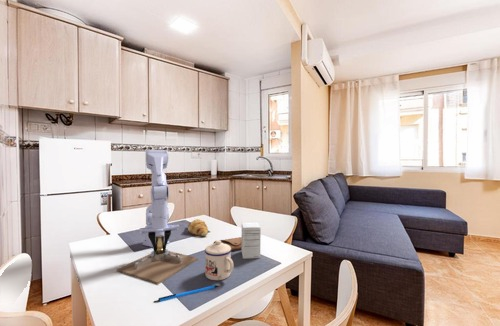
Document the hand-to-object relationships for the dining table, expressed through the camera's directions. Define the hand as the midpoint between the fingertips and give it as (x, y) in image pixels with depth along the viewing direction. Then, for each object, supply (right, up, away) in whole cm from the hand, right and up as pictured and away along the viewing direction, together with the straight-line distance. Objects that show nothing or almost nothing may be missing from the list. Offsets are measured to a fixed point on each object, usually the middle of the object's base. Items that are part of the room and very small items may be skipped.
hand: (159, 250), depth 91 cm
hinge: (+2, -3, -5) cm, 6 cm away
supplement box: (+36, -4, +4) cm, 37 cm away
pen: (+18, -5, -24) cm, 30 cm away
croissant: (+7, -3, +33) cm, 34 cm away
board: (+2, -4, -5) cm, 7 cm away
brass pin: (0, -2, 0) cm, 2 cm away
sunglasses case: (+29, -4, +12) cm, 32 cm away
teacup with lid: (+26, -4, -13) cm, 29 cm away
